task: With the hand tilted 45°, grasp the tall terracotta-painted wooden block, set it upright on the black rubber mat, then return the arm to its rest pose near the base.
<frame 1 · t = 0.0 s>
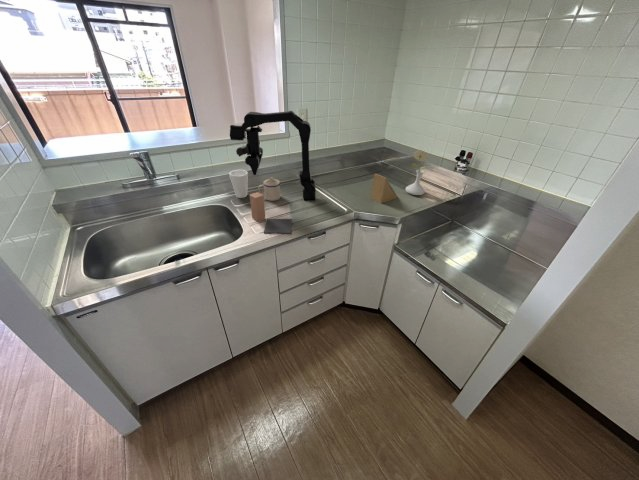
hand: (256, 171, 137), 15 cm above the table, tool pointing down, fingers open, 9 cm apart
flower in vase: (413, 192, 161), on the table
teacup with lid: (270, 197, 146), on the table
sandwich container: (384, 198, 153), on the table
foam cup: (241, 195, 146), on the table
terracotta block: (258, 218, 127), on the table
black mat: (278, 226, 122), on the table
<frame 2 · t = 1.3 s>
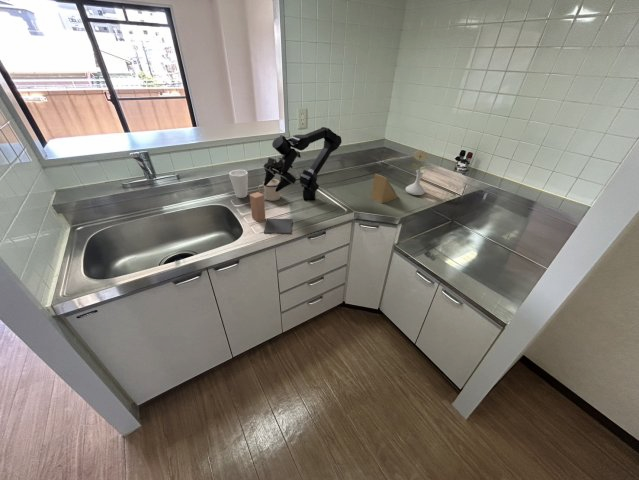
hand: (270, 188, 124), 13 cm above the table, tool tilted 45°, fingers open, 9 cm apart
nothing on the table moved.
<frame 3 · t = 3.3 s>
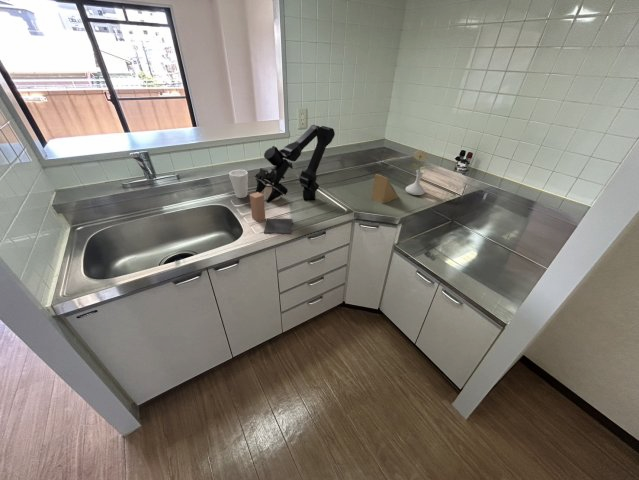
hand: (261, 198, 122), 10 cm above the table, tool tilted 45°, fingers open, 9 cm apart
nothing on the table moved.
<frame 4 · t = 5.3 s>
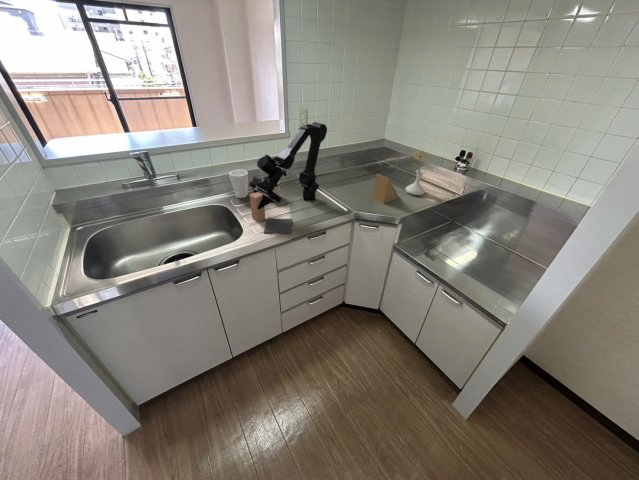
hand: (255, 207, 122), 7 cm above the table, tool tilted 45°, fingers closed on terracotta block, 4 cm apart
terracotta block: (258, 218, 127), on the table, touching gripper
everything else where it was.
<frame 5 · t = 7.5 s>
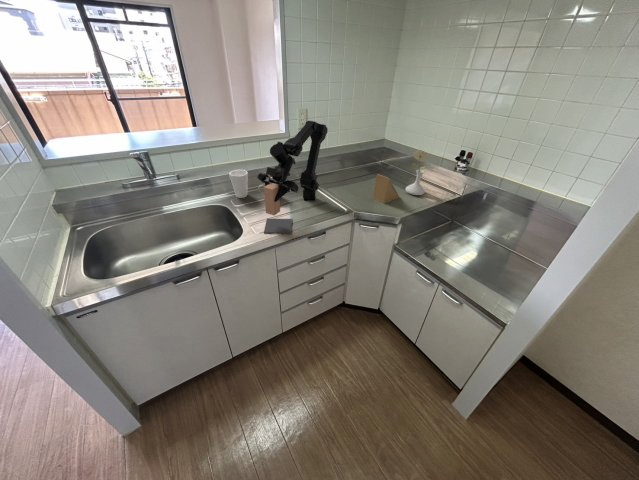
hand: (270, 200, 114), 13 cm above the table, tool tilted 45°, fingers closed on terracotta block, 4 cm apart
terracotta block: (273, 212, 118), point 7 cm above the table, touching gripper
when the fingers open (8 cm above the table, at t = 9.7 s): terracotta block drops 1 cm, resting on black mat.
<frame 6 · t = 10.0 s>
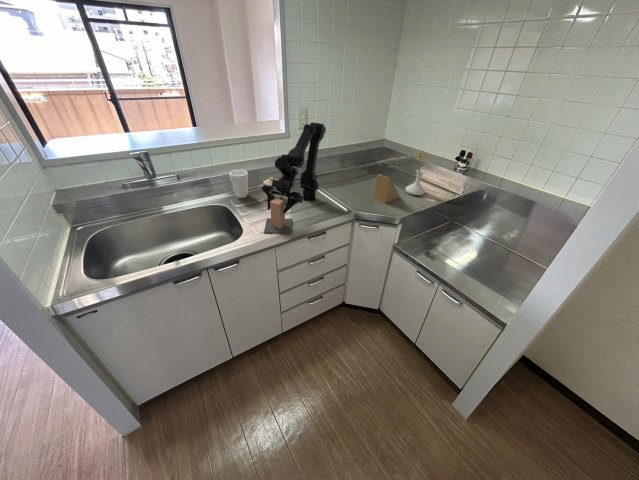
hand: (276, 211, 116), 9 cm above the table, tool tilted 45°, fingers open, 8 cm apart
terracotta block: (278, 225, 121), point 1 cm above the table, touching black mat
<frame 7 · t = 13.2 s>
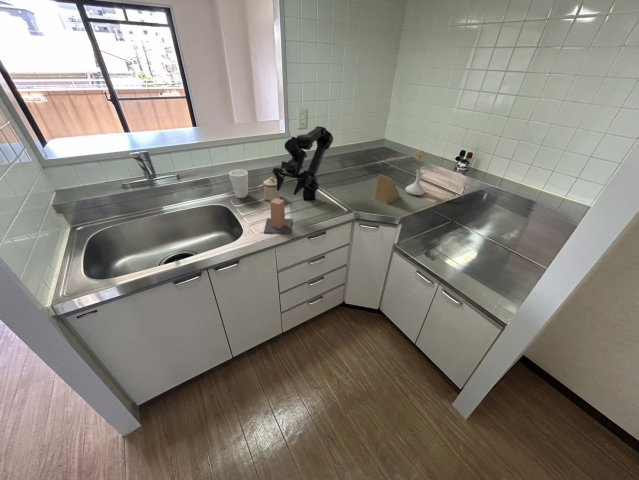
hand: (285, 192, 121), 13 cm above the table, tool tilted 40°, fingers open, 9 cm apart
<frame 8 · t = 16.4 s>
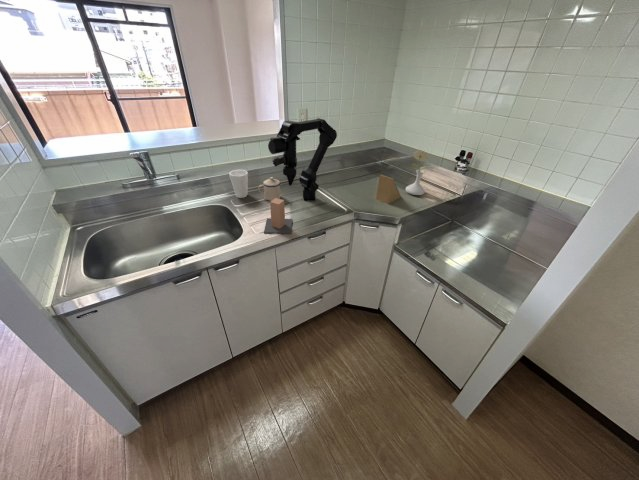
hand: (290, 181, 132), 13 cm above the table, tool pointing down, fingers open, 9 cm apart
at the end: terracotta block inside the target area on the black mat (0.0 cm from its centre), point 0.6 cm above the black mat's base; terracotta block tilted 0°; the gripper is holding nothing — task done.
